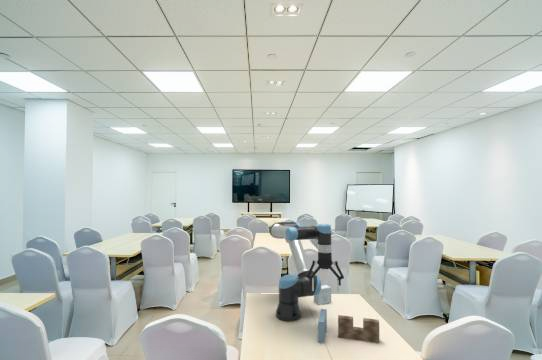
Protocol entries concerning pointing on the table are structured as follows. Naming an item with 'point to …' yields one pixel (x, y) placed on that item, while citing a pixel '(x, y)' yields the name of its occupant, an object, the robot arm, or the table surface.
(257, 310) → the table surface
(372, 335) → the slotted beam
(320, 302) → the skincare box
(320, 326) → the long blue bar
